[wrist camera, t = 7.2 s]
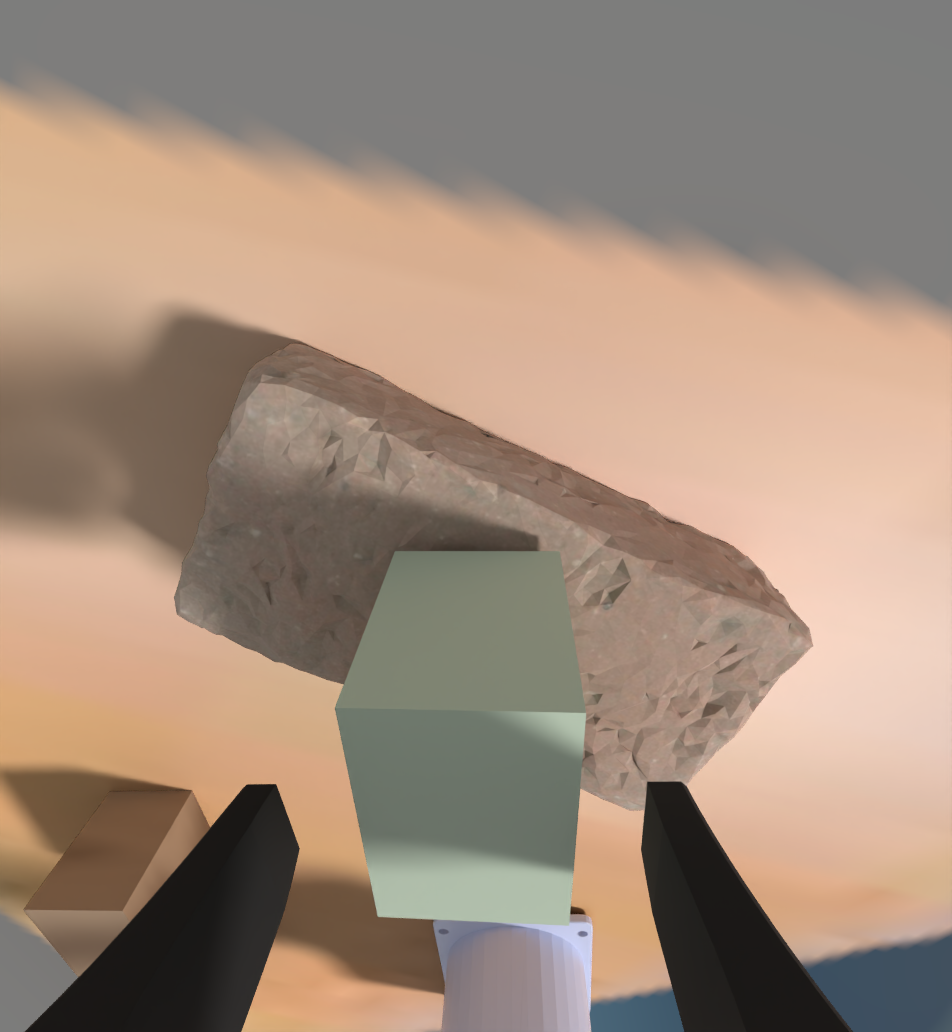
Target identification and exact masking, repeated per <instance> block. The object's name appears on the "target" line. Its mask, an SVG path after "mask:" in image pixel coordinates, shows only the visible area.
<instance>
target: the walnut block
mask: <svg viewBox="0 0 952 1032" xmlns="http://www.w3.org/2000/svg"><path fill="white" fill-rule="evenodd" d="M209 829H210V826H209V824H208V822H207V820H206V818H205V816H204V814H203V812H202V810H201V808H200V806H199V804H198V802H197V799H196V797H195V795H194V793H193V791H110V792H109V793H108V795H107V796H106V797H105V799H104V800H103V801H102V803H101V804H100V806H99V807H98V808H97V810H96V811H95V812H94V814H93V815H92V816H91V818H90V819H89V821H88V822H87V823H86V825H85V826H84V827H83V829H82V830H81V832H80V833H79V834H78V836H77V837H76V838H75V840H74V841H73V842H72V844H71V845H70V847H69V848H68V849H67V851H66V852H65V853H64V855H63V856H62V858H61V859H60V860H59V862H58V863H57V864H56V866H55V867H54V868H53V870H52V871H51V873H50V874H49V875H48V877H47V878H46V879H45V881H44V882H43V883H42V885H41V886H40V888H39V889H38V890H37V892H36V893H35V894H34V896H33V897H32V899H31V900H30V901H29V903H28V904H27V905H26V907H25V908H24V909H23V910H24V911H25V913H26V914H27V915H28V916H29V918H30V919H31V920H32V921H33V922H34V924H35V925H36V926H37V927H38V929H39V930H40V931H41V932H42V933H43V935H44V936H45V937H46V938H47V940H48V941H49V942H50V943H51V944H52V946H53V947H54V948H55V949H56V951H57V952H58V953H59V954H60V955H61V957H62V958H63V959H64V960H65V962H66V963H67V964H68V965H69V966H70V968H71V969H72V970H73V971H74V973H75V974H76V975H77V976H78V977H79V976H80V975H81V974H82V973H83V972H84V971H85V970H86V969H87V968H88V967H89V966H90V965H91V964H92V963H93V962H94V961H95V959H96V958H97V957H98V956H99V955H100V954H101V953H102V952H103V951H104V950H105V948H106V947H107V946H108V945H109V944H110V943H111V942H112V941H113V940H114V939H115V938H116V936H117V935H118V934H119V933H120V932H121V931H122V930H123V929H124V928H125V927H126V926H127V924H128V923H129V922H130V921H131V920H132V919H133V918H134V917H135V916H136V915H137V913H138V912H139V911H140V910H141V909H142V908H143V907H144V906H145V904H146V903H147V902H148V901H149V900H150V899H151V897H152V896H153V895H154V894H155V893H156V892H157V891H158V889H159V888H160V887H161V886H162V885H163V884H164V882H165V881H166V880H167V879H168V878H169V877H170V875H171V874H172V873H173V872H174V871H175V870H176V868H177V867H178V866H179V865H180V864H181V863H182V861H183V860H184V859H185V858H186V857H187V855H188V854H189V853H190V852H191V851H192V849H193V848H194V847H195V846H196V845H197V843H198V842H199V841H200V840H201V839H202V837H203V836H204V835H205V834H206V833H207V831H208V830H209Z"/></svg>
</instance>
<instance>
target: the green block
mask: <svg viewBox="0 0 952 1032" xmlns="http://www.w3.org/2000/svg"><path fill="white" fill-rule="evenodd" d="M335 711H336V715H337V720H338V725H339V730H340V735H341V740H342V745H343V750H344V754H345V759H346V764H347V769H348V774H349V779H350V784H351V789H352V793H353V798H354V803H355V808H356V813H357V818H358V823H359V828H360V832H361V837H362V842H363V847H364V852H365V857H366V862H367V867H368V871H369V876H370V881H371V886H372V891H373V896H374V901H375V906H376V910H377V915H378V917H392V918H414V919H435V920H457V921H478V922H500V923H521V924H543V925H564V926H569V921H570V909H571V896H572V884H573V871H574V859H575V847H576V834H577V822H578V809H579V797H580V784H581V772H582V760H583V747H584V735H585V722H586V708H585V702H584V696H583V690H582V684H581V678H580V672H579V666H578V660H577V653H576V647H575V641H574V635H573V629H572V623H571V617H570V611H569V605H568V599H567V592H566V586H565V580H564V574H563V568H562V562H561V556H560V551H395V552H394V555H393V558H392V560H391V563H390V565H389V568H388V571H387V573H386V576H385V579H384V581H383V584H382V586H381V589H380V592H379V594H378V597H377V599H376V602H375V605H374V607H373V610H372V612H371V615H370V618H369V620H368V623H367V626H366V628H365V631H364V633H363V636H362V639H361V641H360V644H359V646H358V649H357V652H356V654H355V657H354V659H353V662H352V665H351V667H350V670H349V673H348V675H347V678H346V680H345V683H344V686H343V688H342V691H341V693H340V696H339V699H338V701H337V704H336V706H335Z"/></svg>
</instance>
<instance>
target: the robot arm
mask: <svg viewBox="0 0 952 1032" xmlns="http://www.w3.org/2000/svg"><path fill="white" fill-rule="evenodd" d="M299 849H300V848H299V846H298V843H297V840H296V837H295V835H294V832H293V829H292V826H291V824H290V821H289V818H288V815H287V813H286V810H285V807H284V804H283V802H282V799H281V796H280V793H279V791H278V788H277V785H276V784H250V785H246V786H245V787H244V788H243V789H242V790H241V791H240V793H239V794H238V795H237V796H236V797H235V799H234V800H233V801H232V802H231V803H230V805H229V806H228V807H227V808H226V809H225V811H224V812H223V813H222V814H221V816H220V817H219V818H218V819H217V820H216V822H215V823H214V824H213V825H212V827H211V828H210V829H209V830H208V831H207V833H206V834H205V835H204V836H203V837H202V839H201V840H200V841H199V842H198V843H197V845H196V846H195V847H194V848H193V849H192V851H191V852H190V853H189V854H188V855H187V857H186V858H185V859H184V860H183V861H182V863H181V864H180V865H179V866H178V867H177V868H176V870H175V871H174V872H173V873H172V874H171V875H170V877H169V878H168V879H167V880H166V881H165V882H164V884H163V885H162V886H161V887H160V888H159V889H158V891H157V892H156V893H155V894H154V895H153V896H152V897H151V899H150V900H149V901H148V902H147V903H146V904H145V906H144V907H143V908H142V909H141V910H140V911H139V912H138V913H137V915H136V916H135V917H134V918H133V919H132V920H131V921H130V922H129V923H128V924H127V926H126V927H125V928H124V929H123V930H122V931H121V932H120V933H119V934H118V935H117V936H116V938H115V939H114V940H113V941H112V942H111V943H110V944H109V945H108V946H107V947H106V948H105V950H104V951H103V952H102V953H101V954H100V955H99V956H98V957H97V958H96V959H95V961H94V962H93V963H92V964H91V965H90V966H89V967H88V968H87V969H86V970H85V971H84V972H83V973H82V974H81V975H80V976H79V977H78V978H77V979H76V980H75V982H74V983H73V984H72V985H71V986H70V987H69V988H68V989H67V990H66V991H65V992H64V993H63V994H62V995H61V996H60V997H59V998H58V999H57V1000H56V1001H55V1002H54V1003H53V1004H52V1005H51V1006H50V1007H49V1008H48V1009H47V1010H46V1011H45V1012H44V1013H43V1014H42V1015H41V1016H40V1017H39V1018H38V1019H37V1020H36V1021H35V1022H34V1023H33V1024H32V1025H31V1026H30V1027H29V1028H28V1029H27V1030H26V1031H25V1032H241V1031H242V1028H243V1025H244V1023H245V1020H246V1017H247V1014H248V1011H249V1009H250V1006H251V1003H252V1000H253V997H254V995H255V992H256V989H257V986H258V984H259V981H260V978H261V975H262V972H263V970H264V967H265V964H266V961H267V958H268V956H269V953H270V950H271V947H272V944H273V941H274V939H275V936H276V933H277V930H278V927H279V924H280V921H281V919H282V916H283V913H284V910H285V906H286V902H287V898H288V895H289V891H290V887H291V883H292V879H293V875H294V870H295V866H296V862H297V858H298V853H299ZM641 852H642V857H643V863H644V869H645V875H646V880H647V886H648V891H649V897H650V902H651V908H652V913H653V917H654V921H655V925H656V928H657V932H658V936H659V940H660V943H661V947H662V951H663V955H664V958H665V962H666V966H667V969H668V973H669V977H670V980H671V984H672V988H673V991H674V995H675V999H676V1002H677V1006H678V1010H679V1014H680V1017H681V1021H682V1025H683V1028H684V1032H853V1031H852V1030H851V1028H850V1027H849V1026H848V1025H847V1023H846V1022H845V1021H844V1020H843V1018H842V1017H841V1016H840V1015H839V1013H838V1012H837V1011H836V1009H835V1008H834V1007H833V1005H832V1004H831V1003H830V1001H829V1000H828V999H827V998H826V996H825V995H824V994H823V992H822V991H821V990H820V988H819V987H818V986H817V985H816V983H815V982H814V980H813V979H812V978H811V977H810V975H809V973H808V972H807V971H806V969H805V968H804V967H803V965H802V964H801V963H800V961H799V960H798V959H797V957H796V956H795V954H794V953H793V952H792V950H791V949H790V948H789V946H788V945H787V943H786V942H785V941H784V939H783V938H782V936H781V935H780V934H779V932H778V931H777V929H776V928H775V926H774V925H773V924H772V922H771V921H770V919H769V918H768V916H767V915H766V913H765V912H764V910H763V909H762V907H761V906H760V904H759V903H758V902H757V900H756V899H755V897H754V896H753V894H752V893H751V891H750V890H749V888H748V887H747V885H746V884H745V882H744V881H743V879H742V878H741V876H740V875H739V873H738V872H737V870H736V869H735V867H734V866H733V864H732V862H731V861H730V859H729V858H728V856H727V854H726V853H725V851H724V850H723V848H722V846H721V845H720V843H719V842H718V840H717V838H716V837H715V835H714V834H713V832H712V830H711V829H710V827H709V825H708V824H707V822H706V820H705V818H704V817H703V815H702V813H701V812H700V810H699V808H698V806H697V804H696V803H695V801H694V799H693V797H692V796H691V794H690V792H689V790H688V788H687V786H686V785H685V784H683V783H682V782H681V781H669V782H647V791H646V802H645V813H644V824H643V835H642V846H641ZM433 928H434V933H435V938H436V943H437V947H438V952H439V957H440V962H441V966H442V971H443V976H444V981H445V994H444V1005H443V1017H442V1029H441V1032H591V1026H590V1017H589V1012H590V1000H591V966H592V931H593V927H592V920H591V918H590V917H589V916H587V915H583V914H570V921H569V926H564V925H543V924H521V923H500V922H478V921H457V920H435V919H433Z"/></svg>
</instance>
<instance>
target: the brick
mask: <svg viewBox="0 0 952 1032" xmlns="http://www.w3.org/2000/svg"><path fill="white" fill-rule="evenodd" d="M217 446H218V450H217V452H216V454H215V456H214V458H213V459H212V461H211V463H210V465H209V468H208V471H207V474H206V476H207V480H208V484H209V491H208V493H207V496H206V502H205V511H204V515H203V516H202V518H201V520H200V521H199V525H198V531H197V535H196V537H195V539H194V542H193V545H192V547H191V549H190V551H189V552H188V554H187V556H186V557H185V559H184V560H183V562H182V572H181V577H180V581H179V584H178V587H177V590H176V593H175V596H174V599H175V606H176V612H177V615H179V616H180V617H182V618H184V619H185V620H187V621H188V622H190V623H193V624H195V625H197V626H199V627H201V628H205V629H207V630H208V631H210V632H212V633H214V634H216V635H223V636H225V637H226V638H228V639H230V640H232V641H234V642H235V643H237V644H239V645H241V646H243V647H245V648H248V649H250V650H253V651H256V652H258V653H260V654H262V655H264V656H265V657H267V658H269V659H271V660H272V661H274V662H280V663H284V664H287V665H289V666H291V667H293V668H296V669H298V670H300V671H305V672H307V673H310V674H313V675H316V676H318V677H321V678H324V679H326V680H330V681H333V682H337V683H341V684H344V683H345V680H346V678H347V675H348V673H349V670H350V667H351V665H352V662H353V659H354V657H355V654H356V652H357V649H358V646H359V644H360V641H361V639H362V636H363V633H364V631H365V628H366V626H367V623H368V620H369V618H370V615H371V612H372V610H373V607H374V605H375V602H376V599H377V597H378V594H379V592H380V589H381V586H382V584H383V581H384V579H385V576H386V573H387V571H388V568H389V565H390V563H391V560H392V558H393V555H394V552H395V551H560V556H561V562H562V568H563V574H564V580H565V586H566V592H567V599H568V605H569V611H570V617H571V623H572V629H573V635H574V641H575V647H576V653H577V660H578V666H579V672H580V678H581V684H582V690H583V696H584V702H585V708H586V722H585V735H584V747H583V760H582V772H581V784H580V788H581V789H583V790H585V791H587V792H589V793H591V794H593V795H595V796H597V797H599V798H601V799H603V800H606V801H608V802H611V803H613V804H616V805H618V806H621V807H623V808H625V809H627V810H630V811H638V810H645V802H646V791H647V782H669V781H681V782H682V783H683V784H685V785H686V786H687V785H688V783H689V782H690V780H691V779H692V778H693V776H694V775H695V774H696V773H697V772H698V771H699V770H700V769H701V768H702V767H703V766H704V765H705V764H706V763H707V762H708V761H709V760H710V759H711V758H712V757H713V755H714V754H715V753H716V752H717V751H718V750H719V749H721V748H722V747H723V746H724V745H725V744H726V743H728V742H729V741H730V740H731V739H732V738H733V737H734V736H735V735H736V734H737V733H738V732H739V731H740V729H741V728H742V727H743V726H744V725H745V723H746V722H747V720H748V719H749V717H750V716H751V714H752V713H753V711H754V710H755V709H756V707H757V706H758V705H759V703H760V702H761V701H762V700H763V698H764V697H765V696H766V694H767V693H768V692H769V690H770V689H771V688H772V686H773V685H774V684H775V682H776V681H777V680H778V679H779V677H780V676H781V675H783V674H784V673H785V672H786V671H787V670H789V669H790V668H791V667H792V666H793V665H795V664H796V663H797V662H798V661H799V660H800V658H801V657H802V656H803V655H804V654H805V653H806V652H807V651H808V650H809V649H810V648H811V647H812V646H813V644H812V639H811V634H810V630H809V628H808V627H807V625H806V624H805V623H804V622H803V621H802V620H801V619H800V618H799V617H798V616H797V615H796V614H795V612H794V611H792V610H791V608H790V606H789V604H788V602H787V601H786V599H785V597H784V596H783V595H782V594H780V593H779V591H778V590H777V589H775V588H774V587H773V585H772V584H771V582H770V581H769V580H768V579H767V577H766V575H765V574H764V572H763V571H762V570H761V569H760V568H758V567H757V566H756V565H755V564H754V563H753V562H752V561H751V560H750V559H749V558H748V556H745V555H743V554H742V553H741V552H740V551H739V550H737V549H736V548H735V547H734V546H732V545H729V544H727V543H725V542H722V541H720V540H717V539H715V538H713V537H711V536H709V535H707V534H705V533H703V532H701V531H699V530H697V529H696V528H694V527H692V526H688V525H681V524H675V523H670V522H668V521H666V520H665V519H664V518H663V517H662V516H661V515H660V514H659V513H658V511H657V510H655V509H654V508H653V507H651V506H650V505H649V504H648V503H646V502H642V501H639V500H636V499H632V498H629V497H627V496H625V495H623V494H621V493H619V492H617V491H614V490H612V489H610V488H607V487H605V486H603V485H601V484H599V483H596V482H594V481H592V480H590V479H587V478H585V477H583V476H582V475H580V474H579V473H577V472H575V471H573V470H572V469H569V468H567V467H564V466H560V465H556V464H553V463H551V462H550V461H548V460H546V459H545V458H543V457H542V456H540V455H538V454H535V453H532V452H530V451H527V450H525V449H523V448H521V447H518V446H516V445H513V444H511V443H508V442H505V441H504V440H502V439H500V438H498V437H496V436H494V435H491V434H489V433H487V432H485V431H482V430H480V429H478V428H477V427H476V426H475V425H473V424H471V423H469V422H467V421H464V420H460V419H457V418H454V417H452V416H449V415H447V414H444V413H442V412H439V411H437V410H436V409H434V408H433V407H431V406H430V405H428V404H427V403H425V402H424V401H422V400H421V399H419V398H418V397H416V396H414V395H411V394H409V393H407V392H405V391H403V390H402V389H400V388H398V387H397V386H395V385H394V384H392V383H391V382H389V381H387V380H386V379H384V378H382V377H380V376H378V375H376V374H374V373H371V372H369V371H367V370H364V369H360V368H357V367H354V366H352V365H350V364H347V363H345V362H342V361H341V360H339V359H337V358H336V357H334V356H331V355H329V354H326V353H324V352H321V351H318V350H316V349H313V348H311V347H309V346H306V345H301V344H297V343H294V344H289V345H288V346H286V347H285V348H284V349H283V350H282V349H279V350H278V351H276V352H274V353H273V354H272V355H271V356H267V357H266V358H264V359H262V360H260V361H259V362H257V363H256V364H255V365H254V366H253V367H252V368H251V369H250V370H249V372H248V374H247V376H246V378H245V380H244V382H243V385H242V387H241V390H240V392H239V395H238V397H237V400H236V403H235V406H234V408H233V411H232V414H231V417H230V420H229V423H228V425H227V427H226V429H225V431H224V432H223V434H222V436H221V438H220V440H219V442H218V444H217Z"/></svg>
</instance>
